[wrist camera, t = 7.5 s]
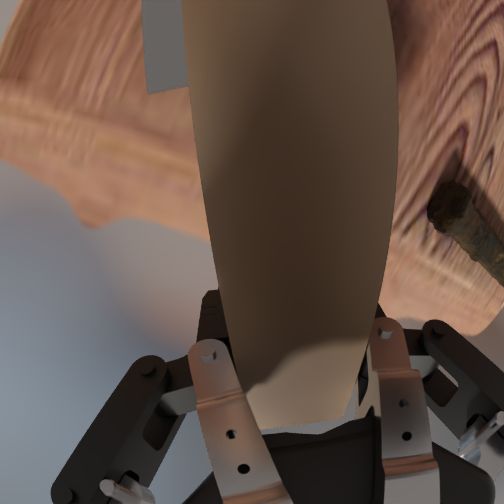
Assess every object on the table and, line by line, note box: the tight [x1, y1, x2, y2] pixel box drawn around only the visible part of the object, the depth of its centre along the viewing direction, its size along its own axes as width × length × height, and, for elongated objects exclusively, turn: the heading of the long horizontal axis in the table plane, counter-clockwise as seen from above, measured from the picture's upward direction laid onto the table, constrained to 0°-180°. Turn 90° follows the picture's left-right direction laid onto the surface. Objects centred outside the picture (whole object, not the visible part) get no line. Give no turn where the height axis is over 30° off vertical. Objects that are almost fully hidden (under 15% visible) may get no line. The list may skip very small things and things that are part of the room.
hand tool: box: [427, 180, 504, 287], centre depth 19 cm, size 19×4×5 cm, turn 60°
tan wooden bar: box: [181, 0, 399, 430], centre depth 8 cm, size 4×18×5 cm, turn 5°
